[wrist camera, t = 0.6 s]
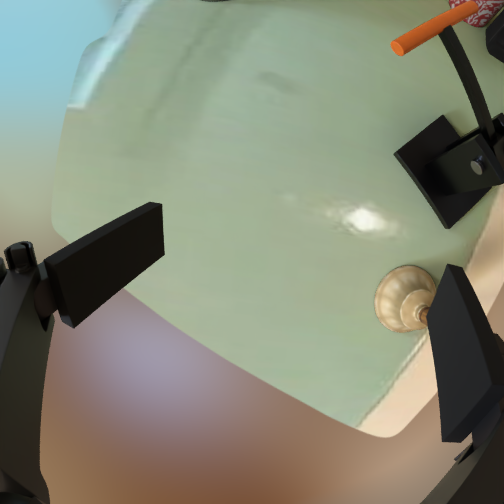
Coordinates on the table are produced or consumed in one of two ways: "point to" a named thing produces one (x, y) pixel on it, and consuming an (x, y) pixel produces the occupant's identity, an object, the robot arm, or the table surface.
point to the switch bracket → (452, 167)
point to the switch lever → (456, 65)
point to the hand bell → (404, 299)
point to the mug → (481, 11)
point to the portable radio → (496, 37)
